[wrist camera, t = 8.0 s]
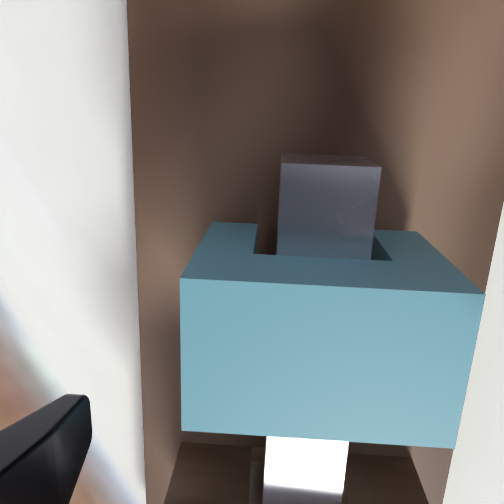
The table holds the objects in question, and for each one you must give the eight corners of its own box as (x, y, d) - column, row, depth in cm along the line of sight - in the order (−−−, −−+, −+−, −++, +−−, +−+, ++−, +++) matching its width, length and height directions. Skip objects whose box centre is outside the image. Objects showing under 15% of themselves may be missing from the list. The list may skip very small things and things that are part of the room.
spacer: (417, 231, 15) (485, 294, 10) (400, 343, 16) (454, 448, 11) (211, 221, 15) (179, 278, 10) (210, 332, 16) (181, 430, 12)
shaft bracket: (540, -105, 14) (777, -294, 7) (420, 527, 21) (484, 719, 15) (137, -113, 14) (16, -298, 8) (156, 507, 22) (102, 684, 15)
